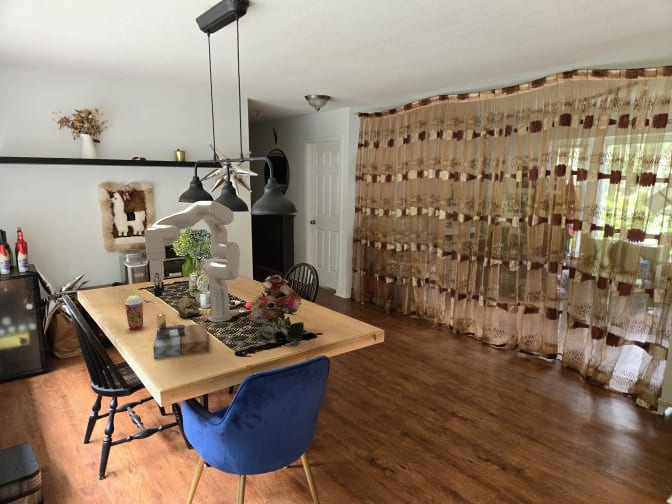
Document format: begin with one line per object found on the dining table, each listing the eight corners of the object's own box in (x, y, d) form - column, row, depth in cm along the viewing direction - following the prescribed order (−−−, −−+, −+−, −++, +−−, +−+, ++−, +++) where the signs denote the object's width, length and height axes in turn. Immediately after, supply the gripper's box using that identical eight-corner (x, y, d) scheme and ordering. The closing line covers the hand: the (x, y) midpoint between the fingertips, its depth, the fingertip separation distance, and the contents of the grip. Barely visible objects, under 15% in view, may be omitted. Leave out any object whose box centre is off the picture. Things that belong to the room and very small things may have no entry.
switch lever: (185, 326, 193) (183, 311, 192) (184, 329, 189) (183, 313, 188) (158, 329, 190) (157, 313, 188) (157, 331, 186) (156, 316, 185)
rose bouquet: (304, 325, 217) (303, 268, 212) (302, 346, 188) (300, 281, 183) (254, 326, 216) (252, 269, 211) (244, 348, 187) (241, 283, 182)
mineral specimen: (203, 317, 231) (202, 299, 230) (179, 320, 226) (177, 303, 224) (199, 310, 244) (198, 293, 243) (175, 313, 238) (174, 296, 237)
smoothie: (125, 331, 210) (121, 292, 207) (129, 325, 218) (125, 288, 215) (143, 329, 213) (140, 291, 209) (146, 324, 220) (143, 287, 217)
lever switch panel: (206, 333, 207) (205, 315, 205) (208, 351, 184) (207, 332, 183) (158, 338, 200) (156, 321, 198) (154, 358, 177) (152, 338, 176)
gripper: (148, 253, 189) (152, 289, 192) (144, 260, 173) (148, 299, 176) (166, 251, 192) (169, 288, 195) (164, 258, 176) (167, 297, 179)
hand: (159, 293), depth 186 cm, fingers open, 9 cm apart
